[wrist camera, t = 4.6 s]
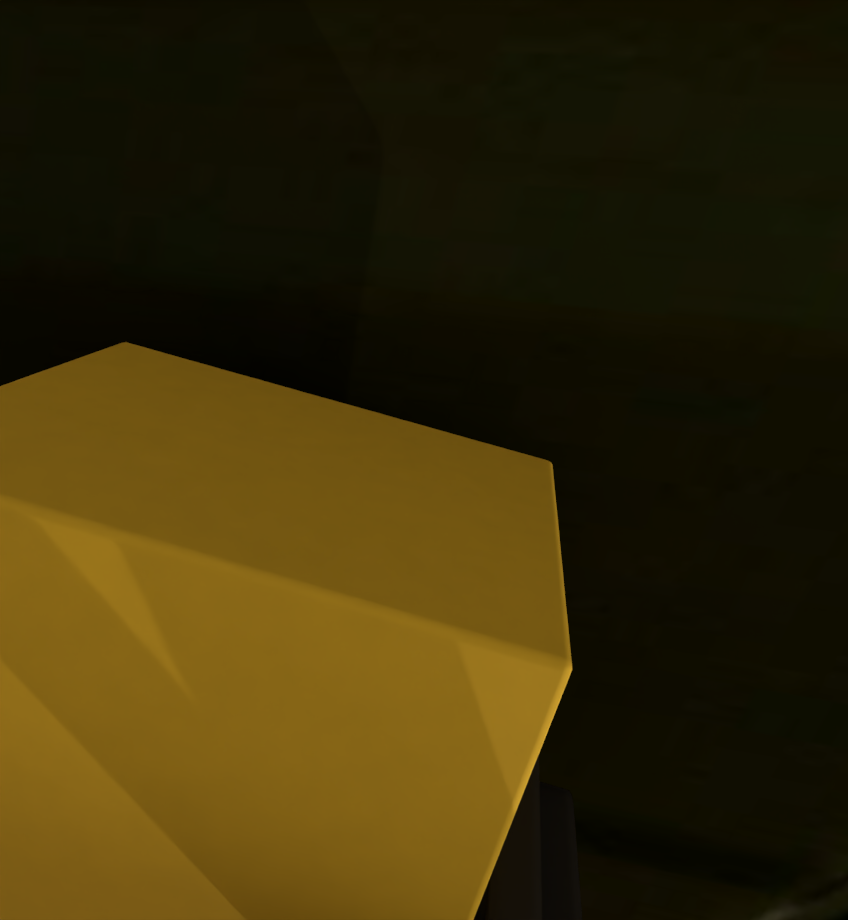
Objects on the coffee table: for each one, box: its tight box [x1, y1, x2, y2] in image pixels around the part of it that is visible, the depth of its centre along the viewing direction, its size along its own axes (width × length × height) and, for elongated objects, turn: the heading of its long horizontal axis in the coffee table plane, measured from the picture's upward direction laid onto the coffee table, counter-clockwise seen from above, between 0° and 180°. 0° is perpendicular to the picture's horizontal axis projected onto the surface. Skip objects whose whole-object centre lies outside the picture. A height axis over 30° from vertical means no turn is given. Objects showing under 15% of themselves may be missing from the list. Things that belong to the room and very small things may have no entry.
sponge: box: [0, 342, 572, 920], centre depth 9 cm, size 9×6×4 cm, turn 166°
